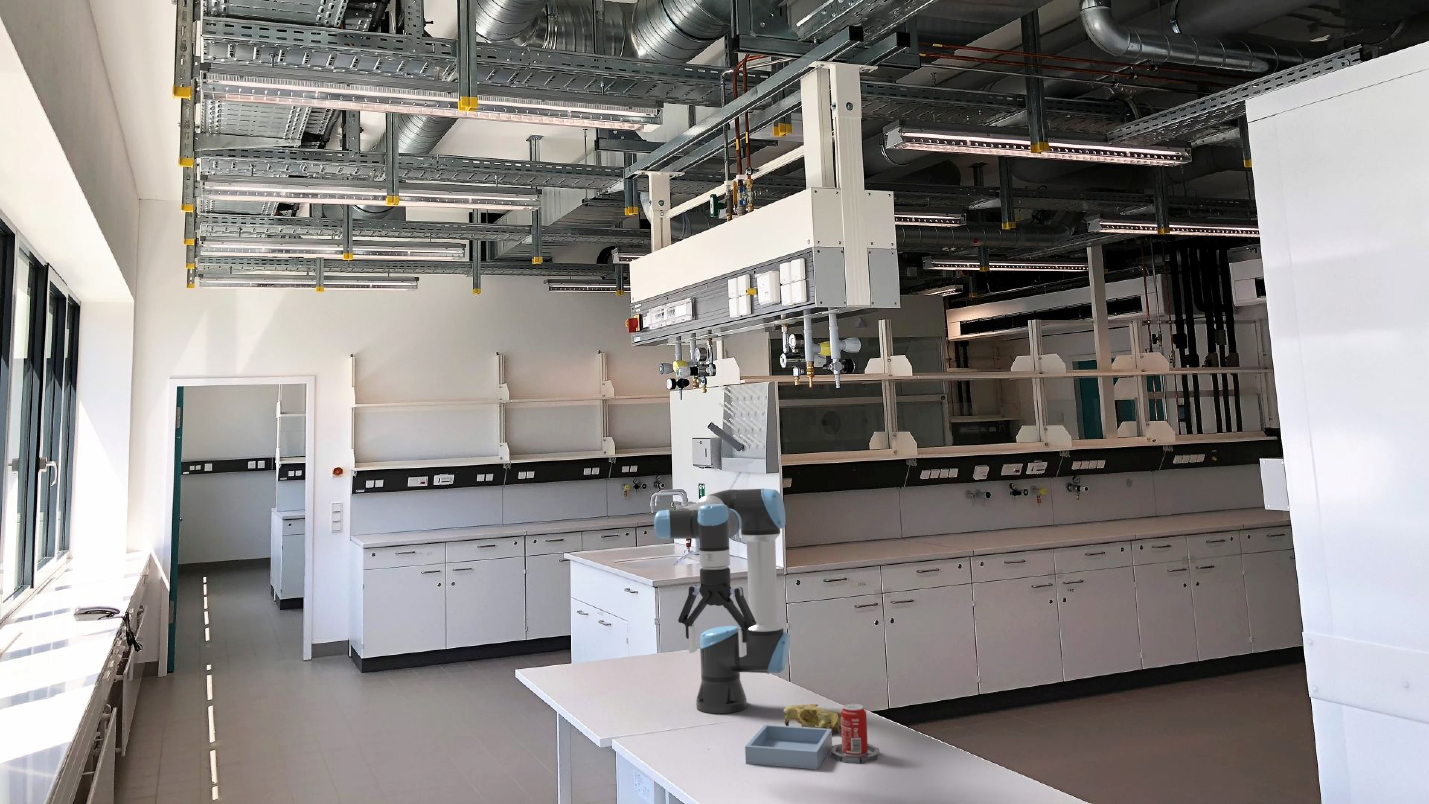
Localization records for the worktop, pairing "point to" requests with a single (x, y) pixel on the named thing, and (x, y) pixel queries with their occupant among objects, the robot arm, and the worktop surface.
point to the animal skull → (813, 717)
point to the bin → (789, 746)
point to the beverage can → (854, 730)
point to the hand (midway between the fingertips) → (717, 654)
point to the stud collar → (855, 759)
